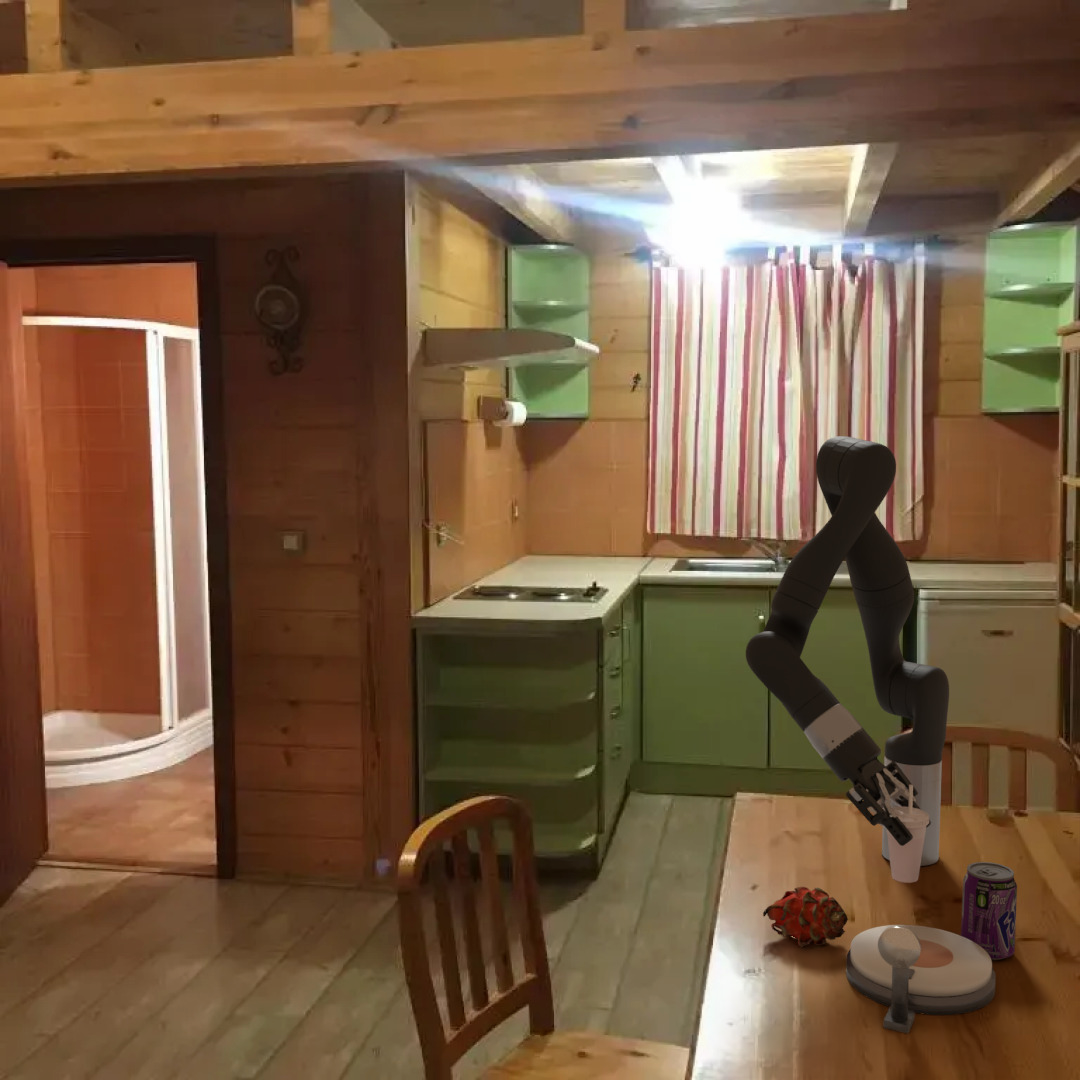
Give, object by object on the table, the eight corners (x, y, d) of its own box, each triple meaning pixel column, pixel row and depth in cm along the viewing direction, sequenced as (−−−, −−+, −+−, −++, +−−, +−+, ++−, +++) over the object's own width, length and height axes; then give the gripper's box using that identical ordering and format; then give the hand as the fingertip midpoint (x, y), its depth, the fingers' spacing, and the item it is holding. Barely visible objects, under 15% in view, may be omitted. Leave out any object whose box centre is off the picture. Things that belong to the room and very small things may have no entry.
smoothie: (929, 887, 176) (932, 793, 174) (883, 884, 178) (885, 791, 176) (925, 870, 182) (927, 778, 180) (880, 867, 184) (882, 776, 182)
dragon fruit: (853, 961, 174) (768, 960, 178) (854, 908, 180) (773, 908, 184) (842, 928, 169) (755, 927, 173) (844, 874, 175) (760, 875, 179)
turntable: (867, 925, 177) (867, 913, 177) (1000, 951, 168) (1000, 938, 168) (835, 977, 161) (835, 964, 161) (980, 1008, 153) (981, 994, 152)
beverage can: (988, 968, 168) (992, 883, 167) (949, 947, 174) (952, 866, 173) (1025, 957, 171) (1029, 874, 170) (985, 937, 178) (988, 857, 176)
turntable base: (864, 938, 178) (864, 925, 177) (1004, 965, 169) (1004, 951, 169) (830, 994, 161) (830, 980, 161) (983, 1028, 152) (984, 1012, 152)
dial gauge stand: (884, 1008, 157) (886, 910, 156) (924, 1017, 155) (927, 917, 153) (875, 1025, 153) (877, 925, 151) (916, 1035, 151) (919, 933, 149)
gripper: (837, 739, 176) (916, 836, 170) (878, 716, 187) (953, 806, 182) (803, 768, 180) (879, 864, 174) (845, 744, 191) (917, 833, 186)
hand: (916, 834), depth 178 cm, fingers closed on smoothie, 6 cm apart
